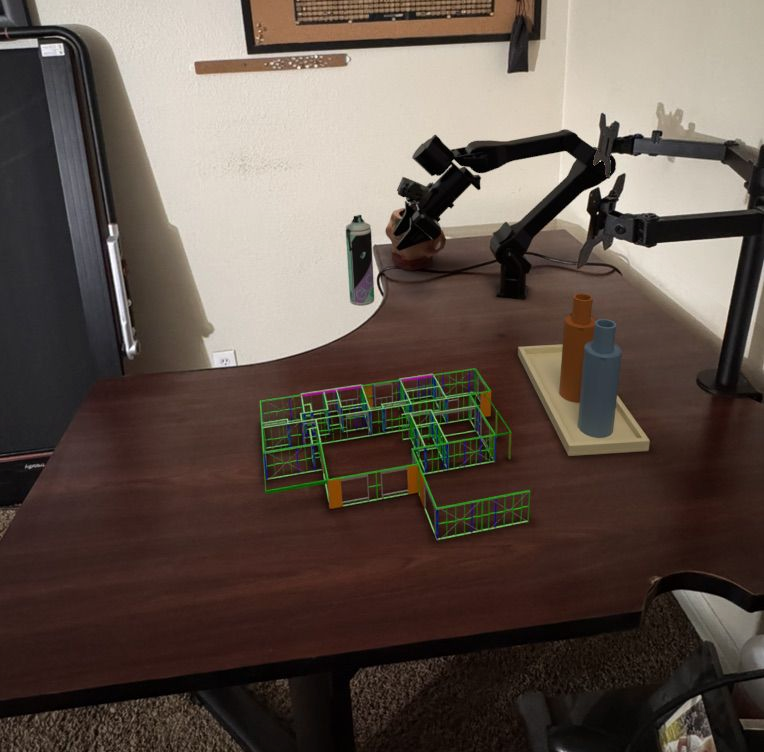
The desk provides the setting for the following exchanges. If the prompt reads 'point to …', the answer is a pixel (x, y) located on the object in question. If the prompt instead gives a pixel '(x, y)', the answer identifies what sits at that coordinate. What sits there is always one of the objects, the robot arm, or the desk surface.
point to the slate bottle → (600, 381)
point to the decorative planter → (415, 254)
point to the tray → (576, 408)
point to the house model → (413, 471)
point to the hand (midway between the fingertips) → (396, 241)
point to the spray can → (360, 262)
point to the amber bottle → (575, 346)
